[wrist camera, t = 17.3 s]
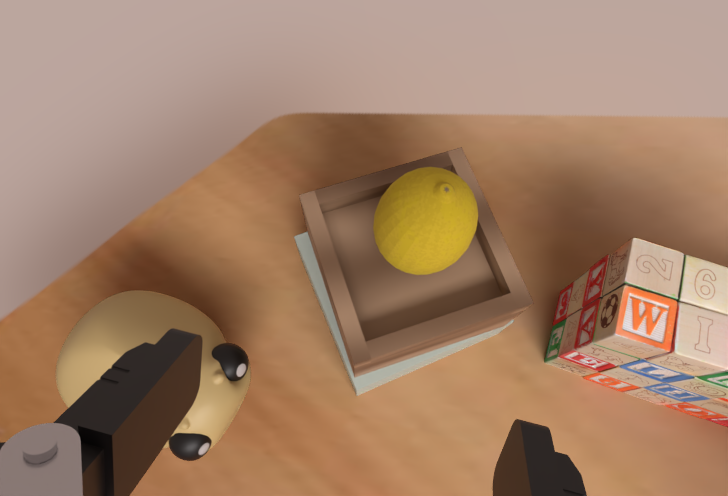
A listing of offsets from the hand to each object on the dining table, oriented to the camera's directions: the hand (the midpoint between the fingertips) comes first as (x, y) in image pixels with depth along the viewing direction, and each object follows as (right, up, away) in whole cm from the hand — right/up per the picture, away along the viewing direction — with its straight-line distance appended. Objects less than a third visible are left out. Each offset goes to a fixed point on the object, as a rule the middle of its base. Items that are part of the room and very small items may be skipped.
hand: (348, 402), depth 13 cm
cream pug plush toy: (-13, -6, +26) cm, 30 cm away
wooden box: (+3, +2, +24) cm, 24 cm away
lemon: (+3, +4, +20) cm, 20 cm away
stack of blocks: (+25, -6, +27) cm, 37 cm away
